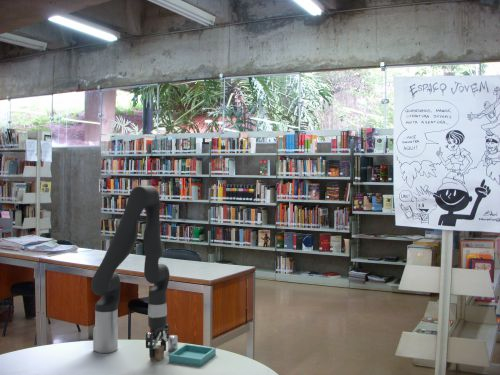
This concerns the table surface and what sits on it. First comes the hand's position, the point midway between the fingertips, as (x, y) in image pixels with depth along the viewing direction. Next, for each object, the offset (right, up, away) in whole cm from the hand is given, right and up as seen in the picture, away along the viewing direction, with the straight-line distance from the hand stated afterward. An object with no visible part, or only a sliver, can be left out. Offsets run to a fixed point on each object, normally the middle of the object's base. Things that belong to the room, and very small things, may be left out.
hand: (157, 354), depth 204 cm
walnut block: (0, -2, 0) cm, 2 cm away
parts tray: (+14, -2, +1) cm, 14 cm away
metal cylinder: (+4, -2, +10) cm, 11 cm away
